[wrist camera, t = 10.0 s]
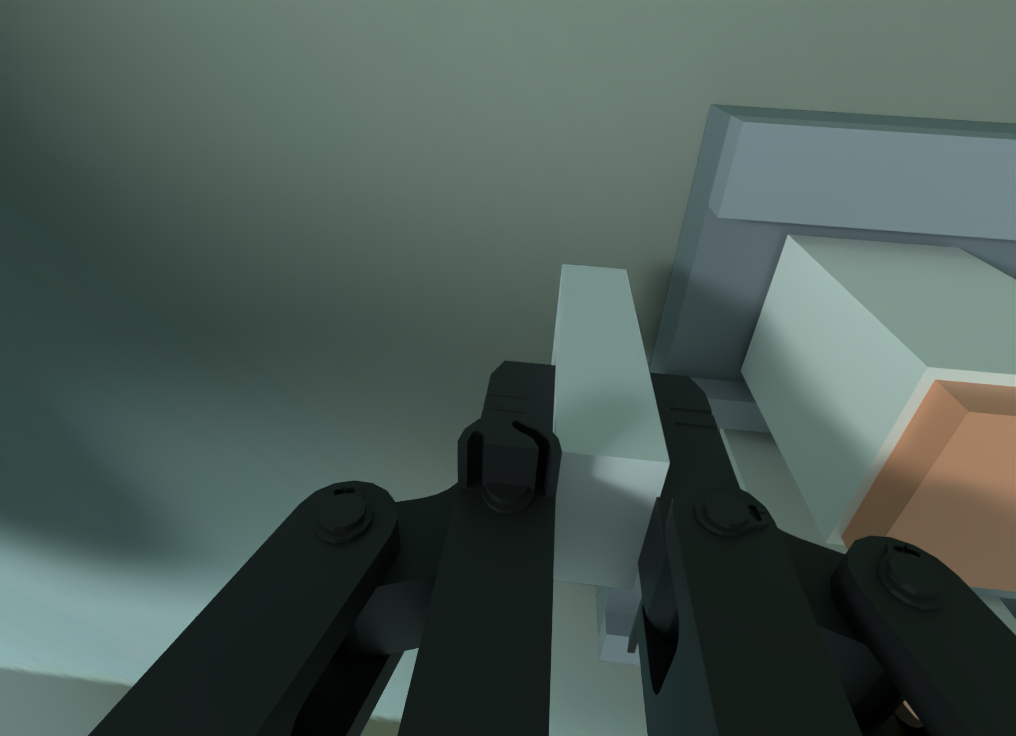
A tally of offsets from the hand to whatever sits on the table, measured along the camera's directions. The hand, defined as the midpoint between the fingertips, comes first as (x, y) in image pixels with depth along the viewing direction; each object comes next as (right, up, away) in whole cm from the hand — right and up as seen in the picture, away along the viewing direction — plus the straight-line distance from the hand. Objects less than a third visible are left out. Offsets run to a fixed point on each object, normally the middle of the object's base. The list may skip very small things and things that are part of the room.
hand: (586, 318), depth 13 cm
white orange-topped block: (+7, 0, +1) cm, 7 cm away
